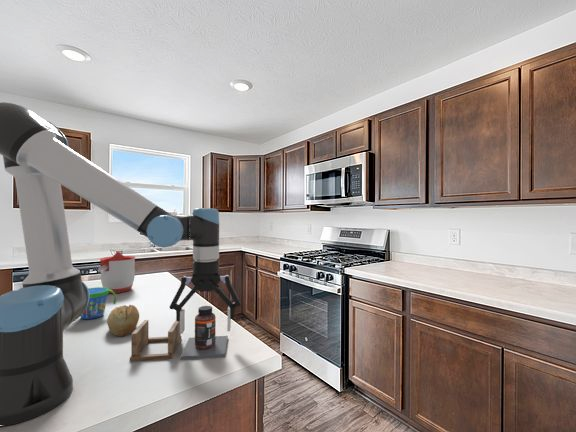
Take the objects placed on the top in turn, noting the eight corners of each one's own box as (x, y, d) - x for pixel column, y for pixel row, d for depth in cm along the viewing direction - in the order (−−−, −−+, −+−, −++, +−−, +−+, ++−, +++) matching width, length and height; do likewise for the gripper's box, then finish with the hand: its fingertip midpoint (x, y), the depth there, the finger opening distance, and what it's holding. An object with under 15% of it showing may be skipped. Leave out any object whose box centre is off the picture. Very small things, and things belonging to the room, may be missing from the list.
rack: (171, 358, 79) (171, 333, 79) (129, 361, 78) (129, 335, 78) (181, 339, 92) (181, 317, 91) (145, 340, 90) (145, 318, 90)
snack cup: (115, 309, 119) (115, 284, 119) (116, 316, 111) (116, 290, 110) (68, 316, 111) (68, 290, 111) (65, 325, 102) (65, 296, 102)
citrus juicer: (89, 293, 141) (89, 253, 141) (121, 285, 157) (121, 249, 157) (110, 297, 135) (110, 255, 135) (142, 288, 151) (142, 251, 151)
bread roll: (137, 319, 108) (137, 298, 108) (141, 334, 95) (141, 310, 95) (107, 325, 103) (107, 303, 103) (107, 341, 90) (107, 315, 90)
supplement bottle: (215, 348, 83) (215, 309, 83) (194, 351, 82) (194, 311, 82) (215, 340, 89) (215, 303, 89) (195, 342, 88) (195, 305, 88)
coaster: (224, 356, 81) (224, 353, 81) (180, 359, 79) (180, 356, 79) (227, 338, 92) (227, 335, 92) (189, 340, 91) (189, 337, 91)
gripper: (248, 257, 91) (247, 323, 91) (165, 258, 87) (165, 327, 88) (248, 261, 83) (247, 333, 84) (158, 262, 80) (158, 338, 80)
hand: (205, 330), depth 86 cm, fingers open, 13 cm apart
